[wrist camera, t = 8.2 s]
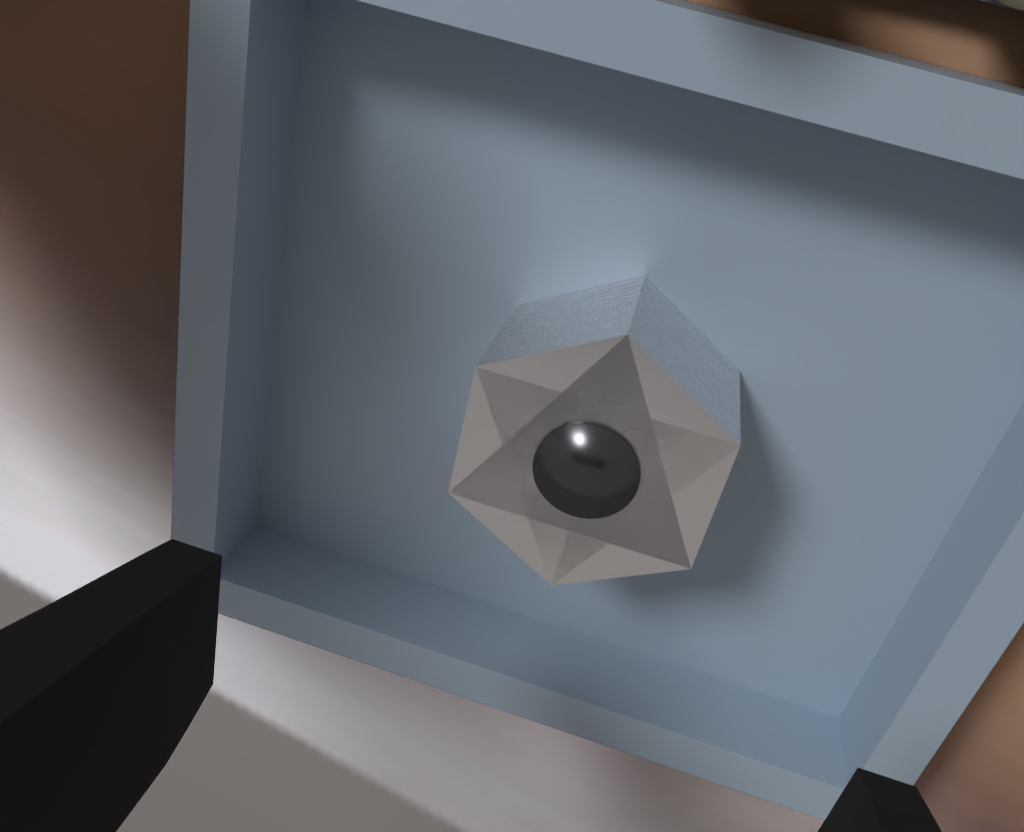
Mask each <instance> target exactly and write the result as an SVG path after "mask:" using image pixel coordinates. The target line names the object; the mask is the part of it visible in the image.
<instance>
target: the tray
mask: <svg viewBox="0 0 1024 832" xmlns="http://www.w3.org/2000/svg"><path fill="white" fill-rule="evenodd" d="M642 275H646V276H647V277H648V278H649V279H650V280H651V281H652V282H653V283H654V284H655V285H656V286H657V287H658V288H659V289H660V290H661V291H662V292H663V293H664V294H665V295H666V296H667V297H668V298H669V299H670V300H671V301H672V302H673V303H674V304H675V305H676V306H677V307H678V308H679V309H680V310H681V311H682V312H683V313H684V314H685V315H686V316H687V317H688V318H689V319H690V320H691V321H692V322H693V323H694V324H695V325H696V326H697V327H698V328H699V329H700V330H701V331H702V332H703V333H704V334H705V335H706V337H707V338H708V339H709V340H710V341H711V342H712V343H713V344H714V345H715V346H716V347H717V348H718V349H719V350H720V351H721V352H722V353H723V354H724V355H725V356H726V357H727V358H728V359H729V360H730V361H731V362H732V363H733V364H734V365H735V366H736V367H737V368H738V369H739V370H740V432H741V446H740V448H739V451H738V453H737V456H736V458H735V461H734V463H733V466H732V468H731V471H730V473H729V476H728V478H727V481H726V483H725V486H724V488H723V491H722V493H721V496H720V498H719V501H718V503H717V506H716V508H715V511H714V513H713V516H712V518H711V521H710V523H709V526H708V528H707V531H706V533H705V536H704V538H703V540H702V543H701V545H700V548H699V550H698V553H697V555H696V558H695V560H694V563H693V565H692V568H691V569H687V570H679V571H670V572H662V573H653V574H645V575H637V576H628V577H620V578H611V579H603V580H594V581H586V582H578V583H569V584H561V585H552V586H551V585H550V584H549V583H548V582H547V581H545V580H544V579H543V578H542V577H541V576H540V575H539V574H538V573H537V572H535V571H534V570H533V569H532V568H531V567H530V566H529V565H528V564H527V563H525V562H524V561H523V560H522V559H521V558H520V557H519V556H518V555H517V554H515V553H514V552H513V551H512V550H511V549H510V548H509V547H508V546H507V545H505V544H504V543H503V542H502V541H501V540H500V539H499V538H498V537H497V536H495V535H494V534H493V533H492V532H491V531H490V530H489V529H488V528H487V527H486V526H484V525H483V524H482V523H481V522H480V521H479V520H478V519H477V518H476V517H474V516H473V515H472V514H471V513H470V512H469V511H468V510H467V509H466V508H464V507H463V506H462V505H461V504H460V503H459V502H458V501H457V500H456V499H454V498H453V497H452V496H451V495H450V494H449V493H448V492H449V487H450V482H451V478H452V473H453V468H454V464H455V459H456V454H457V450H458V445H459V440H460V436H461V431H462V427H463V422H464V417H465V413H466V408H467V403H468V399H469V394H470V389H471V385H472V380H473V376H474V371H475V366H476V365H477V363H478V362H479V360H480V359H481V357H482V356H483V354H484V353H485V351H486V349H487V348H488V346H489V345H490V343H491V342H492V340H493V339H494V337H495V336H496V334H497V333H498V331H499V330H500V328H501V326H502V325H503V323H504V322H505V320H506V319H507V317H508V316H509V314H510V313H511V311H512V310H513V308H514V306H515V305H517V304H522V303H526V302H530V301H534V300H539V299H543V298H547V297H552V296H556V295H560V294H565V293H569V292H573V291H578V290H582V289H586V288H591V287H595V286H599V285H604V284H608V283H612V282H616V281H621V280H625V279H629V278H634V277H638V276H642ZM171 539H174V540H177V541H180V542H183V543H186V544H189V545H192V546H195V547H198V548H201V549H204V550H207V551H210V552H213V553H216V554H219V555H222V564H221V578H220V592H219V606H218V613H219V614H222V615H225V616H228V617H231V618H234V619H237V620H240V621H242V622H245V623H248V624H251V625H254V626H257V627H260V628H263V629H266V630H269V631H272V632H275V633H278V634H281V635H283V636H286V637H289V638H292V639H295V640H298V641H301V642H304V643H307V644H310V645H313V646H316V647H319V648H322V649H324V650H327V651H330V652H333V653H336V654H339V655H342V656H345V657H348V658H351V659H354V660H357V661H360V662H363V663H365V664H368V665H371V666H374V667H377V668H380V669H383V670H386V671H389V672H392V673H395V674H398V675H401V676H404V677H406V678H409V679H412V680H415V681H418V682H421V683H424V684H427V685H430V686H433V687H436V688H439V689H442V690H445V691H447V692H450V693H453V694H456V695H459V696H462V697H465V698H468V699H471V700H474V701H477V702H480V703H483V704H486V705H488V706H491V707H494V708H497V709H500V710H503V711H506V712H509V713H512V714H515V715H518V716H521V717H524V718H527V719H529V720H532V721H535V722H538V723H541V724H544V725H547V726H550V727H553V728H556V729H559V730H562V731H565V732H568V733H570V734H573V735H576V736H579V737H582V738H585V739H588V740H591V741H594V742H597V743H600V744H603V745H606V746H609V747H611V748H614V749H617V750H620V751H623V752H626V753H629V754H632V755H635V756H638V757H641V758H644V759H647V760H650V761H652V762H655V763H658V764H661V765H664V766H667V767H670V768H673V769H676V770H679V771H682V772H685V773H688V774H691V775H693V776H696V777H699V778H702V779H705V780H708V781H711V782H714V783H717V784H720V785H723V786H726V787H729V788H732V789H734V790H737V791H740V792H743V793H746V794H749V795H752V796H755V797H758V798H761V799H764V800H767V801H770V802H773V803H775V804H778V805H781V806H784V807H787V808H790V809H793V810H796V811H799V812H802V813H805V814H808V815H811V816H814V817H816V818H819V819H822V820H825V819H826V818H827V816H828V814H829V813H830V811H831V810H832V808H833V806H834V805H835V803H836V802H837V800H838V798H839V797H840V795H841V793H842V792H843V790H844V789H845V787H846V785H847V784H848V782H849V781H850V779H851V777H852V776H853V774H854V773H855V771H856V769H857V768H861V769H864V770H867V771H870V772H873V773H876V774H879V775H882V776H885V777H888V778H891V779H894V780H897V781H900V782H903V783H906V784H909V785H912V786H913V785H914V784H915V782H916V781H917V779H918V778H919V776H920V775H921V773H922V772H923V770H924V769H925V767H926V766H927V764H928V763H929V761H930V760H931V758H932V757H933V756H934V754H935V753H936V751H937V750H938V748H939V747H940V745H941V744H942V742H943V741H944V739H945V738H946V736H947V735H948V733H949V732H950V730H951V729H952V727H953V726H954V725H955V723H956V722H957V720H958V719H959V717H960V716H961V714H962V713H963V711H964V710H965V708H966V707H967V705H968V704H969V702H970V701H971V699H972V698H973V697H974V695H975V694H976V692H977V691H978V689H979V688H980V686H981V685H982V683H983V682H984V680H985V679H986V677H987V676H988V674H989V673H990V671H991V670H992V669H993V667H994V666H995V664H996V663H997V661H998V660H999V658H1000V657H1001V655H1002V654H1003V652H1004V651H1005V649H1006V648H1007V646H1008V645H1009V643H1010V642H1011V641H1012V639H1013V638H1014V636H1015V635H1016V633H1017V632H1018V630H1019V629H1020V627H1021V626H1022V624H1023V623H1024V88H1022V87H1018V86H1014V85H1010V84H1007V83H1003V82H999V81H995V80H991V79H987V78H983V77H980V76H976V75H972V74H968V73H964V72H960V71H956V70H953V69H949V68H945V67H941V66H937V65H933V64H929V63H925V62H922V61H918V60H914V59H910V58H906V57H902V56H898V55H895V54H891V53H887V52H883V51H879V50H875V49H871V48H868V47H864V46H860V45H856V44H852V43H848V42H844V41H841V40H837V39H833V38H829V37H825V36H821V35H817V34H814V33H810V32H806V31H802V30H798V29H794V28H790V27H787V26H783V25H779V24H775V23H771V22H767V21H763V20H760V19H756V18H752V17H748V16H744V15H740V14H736V13H733V12H729V11H725V10H721V9H717V8H713V7H709V6H706V5H702V4H698V3H694V2H690V1H686V0H190V14H189V43H188V71H187V100H186V128H185V157H184V185H183V213H182V242H181V270H180V299H179V327H178V355H177V384H176V412H175V441H174V469H173V497H172V526H171Z"/></svg>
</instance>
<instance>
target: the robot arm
mask: <svg viewBox="0 0 1024 832" xmlns="http://www.w3.org/2000/svg"><path fill="white" fill-rule="evenodd" d="M221 564H222V555H219V554H216V553H213V552H210V551H207V550H204V549H201V548H198V547H195V546H192V545H189V544H186V543H183V542H180V541H177V540H174V539H171V540H169V541H167V542H165V543H163V544H162V545H160V546H158V547H156V548H154V549H152V550H150V551H148V552H146V553H144V554H142V555H140V556H138V557H136V558H135V559H133V560H131V561H129V562H127V563H125V564H123V565H122V566H120V567H118V568H116V569H114V570H112V571H110V572H109V573H107V574H105V575H103V576H101V577H99V578H98V579H96V580H94V581H92V582H90V583H88V584H86V585H85V586H83V587H81V588H79V589H77V590H75V591H73V592H71V593H70V594H68V595H66V596H64V597H62V598H60V599H58V600H56V601H55V602H53V603H51V604H49V605H47V606H46V607H43V608H41V609H40V610H37V611H35V612H34V613H32V614H30V615H28V616H26V617H24V618H22V619H20V620H18V621H16V622H14V623H12V624H10V625H8V626H6V627H4V628H2V629H0V832H116V831H117V830H118V828H119V827H120V825H121V824H122V823H123V821H124V820H125V819H126V817H127V816H128V815H129V813H130V812H131V811H132V809H133V808H134V807H135V805H136V804H137V802H138V801H139V800H140V799H141V797H142V796H143V795H144V793H145V792H146V791H147V789H148V788H149V787H150V785H151V784H152V782H153V781H154V780H155V778H156V777H157V776H158V774H159V773H160V772H161V770H162V769H163V768H164V766H165V765H166V763H167V762H168V760H169V758H170V757H171V755H172V753H173V751H174V750H175V748H176V747H177V745H178V743H179V741H180V740H181V738H182V737H183V735H184V733H185V732H186V730H187V728H188V727H189V725H190V723H191V721H192V720H193V718H194V716H195V714H196V713H197V711H198V709H199V707H200V706H201V704H202V702H203V700H204V699H205V697H206V695H207V693H208V692H209V690H210V688H211V687H212V685H213V676H214V662H215V648H216V634H217V620H218V606H219V592H220V578H221ZM818 832H941V830H940V828H939V826H938V824H937V823H936V821H935V819H934V817H933V816H932V814H931V812H930V810H929V808H928V807H927V805H926V803H925V802H924V800H923V798H922V796H921V795H920V793H919V791H918V789H917V788H916V787H915V786H912V785H909V784H906V783H903V782H900V781H897V780H894V779H891V778H888V777H885V776H882V775H879V774H876V773H873V772H870V771H867V770H864V769H861V768H857V769H856V771H855V773H854V774H853V776H852V777H851V779H850V781H849V782H848V784H847V785H846V787H845V789H844V790H843V792H842V793H841V795H840V797H839V798H838V800H837V802H836V803H835V805H834V806H833V808H832V810H831V811H830V813H829V814H828V816H827V818H826V819H825V821H824V822H823V824H822V826H821V827H820V829H819V830H818Z"/></svg>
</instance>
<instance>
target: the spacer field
mask: <svg viewBox="0 0 1024 832" xmlns="http://www.w3.org/2000/svg"><path fill="white" fill-rule="evenodd" d="M977 1H981V2H985V3H989V4H993V5H997V6H1001V7H1005V8H1009V9H1013V10H1017V11H1021V12H1024V0H977Z"/></svg>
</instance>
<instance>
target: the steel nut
mask: <svg viewBox="0 0 1024 832" xmlns="http://www.w3.org/2000/svg"><path fill="white" fill-rule="evenodd" d="M740 446H741V432H740V370H739V369H738V368H737V367H736V366H735V365H734V364H733V363H732V362H731V361H730V360H729V359H728V358H727V357H726V356H725V355H724V354H723V353H722V352H721V351H720V350H719V349H718V348H717V347H716V346H715V345H714V344H713V343H712V342H711V341H710V340H709V339H708V338H707V337H706V335H705V334H704V333H703V332H702V331H701V330H700V329H699V328H698V327H697V326H696V325H695V324H694V323H693V322H692V321H691V320H690V319H689V318H688V317H687V316H686V315H685V314H684V313H683V312H682V311H681V310H680V309H679V308H678V307H677V306H676V305H675V304H674V303H673V302H672V301H671V300H670V299H669V298H668V297H667V296H666V295H665V294H664V293H663V292H662V291H661V290H660V289H659V288H658V287H657V286H656V285H655V284H654V283H653V282H652V281H651V280H650V279H649V278H648V277H647V276H646V275H642V276H638V277H634V278H629V279H625V280H621V281H616V282H612V283H608V284H604V285H599V286H595V287H591V288H586V289H582V290H578V291H573V292H569V293H565V294H560V295H556V296H552V297H547V298H543V299H539V300H534V301H530V302H526V303H522V304H517V305H515V306H514V308H513V310H512V311H511V313H510V314H509V316H508V317H507V319H506V320H505V322H504V323H503V325H502V326H501V328H500V330H499V331H498V333H497V334H496V336H495V337H494V339H493V340H492V342H491V343H490V345H489V346H488V348H487V349H486V351H485V353H484V354H483V356H482V357H481V359H480V360H479V362H478V363H477V365H476V366H475V371H474V376H473V380H472V385H471V389H470V394H469V399H468V403H467V408H466V413H465V417H464V422H463V427H462V431H461V436H460V440H459V445H458V450H457V454H456V459H455V464H454V468H453V473H452V478H451V482H450V487H449V492H448V493H449V494H450V495H451V496H452V497H453V498H454V499H456V500H457V501H458V502H459V503H460V504H461V505H462V506H463V507H464V508H466V509H467V510H468V511H469V512H470V513H471V514H472V515H473V516H474V517H476V518H477V519H478V520H479V521H480V522H481V523H482V524H483V525H484V526H486V527H487V528H488V529H489V530H490V531H491V532H492V533H493V534H494V535H495V536H497V537H498V538H499V539H500V540H501V541H502V542H503V543H504V544H505V545H507V546H508V547H509V548H510V549H511V550H512V551H513V552H514V553H515V554H517V555H518V556H519V557H520V558H521V559H522V560H523V561H524V562H525V563H527V564H528V565H529V566H530V567H531V568H532V569H533V570H534V571H535V572H537V573H538V574H539V575H540V576H541V577H542V578H543V579H544V580H545V581H547V582H548V583H549V584H550V585H551V586H552V585H561V584H569V583H578V582H586V581H594V580H603V579H611V578H620V577H628V576H637V575H645V574H653V573H662V572H670V571H679V570H687V569H691V568H692V565H693V563H694V560H695V558H696V555H697V553H698V550H699V548H700V545H701V543H702V540H703V538H704V536H705V533H706V531H707V528H708V526H709V523H710V521H711V518H712V516H713V513H714V511H715V508H716V506H717V503H718V501H719V498H720V496H721V493H722V491H723V488H724V486H725V483H726V481H727V478H728V476H729V473H730V471H731V468H732V466H733V463H734V461H735V458H736V456H737V453H738V451H739V448H740Z"/></svg>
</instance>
